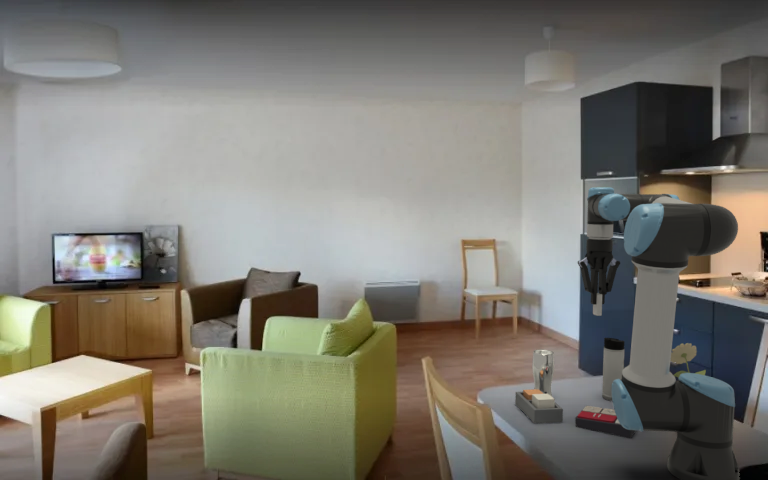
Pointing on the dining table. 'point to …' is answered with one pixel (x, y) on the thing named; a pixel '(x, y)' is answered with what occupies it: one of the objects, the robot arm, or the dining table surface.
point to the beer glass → (543, 370)
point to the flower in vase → (684, 357)
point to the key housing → (539, 410)
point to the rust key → (528, 393)
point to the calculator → (601, 421)
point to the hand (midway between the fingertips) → (597, 314)
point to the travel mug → (612, 364)
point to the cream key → (543, 401)
